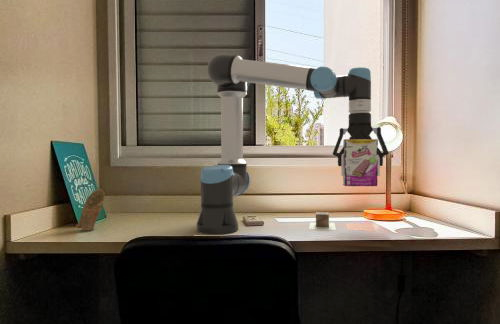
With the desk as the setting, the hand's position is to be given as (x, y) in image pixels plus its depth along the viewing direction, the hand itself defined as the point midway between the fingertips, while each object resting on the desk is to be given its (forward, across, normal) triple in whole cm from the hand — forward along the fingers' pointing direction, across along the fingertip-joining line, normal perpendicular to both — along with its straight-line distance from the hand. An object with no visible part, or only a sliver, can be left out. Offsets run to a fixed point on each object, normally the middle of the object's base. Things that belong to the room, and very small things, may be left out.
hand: (360, 175), depth 128 cm
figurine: (+19, -97, -12) cm, 99 cm away
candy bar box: (+4, 0, 0) cm, 4 cm away
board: (+19, -7, 0) cm, 21 cm away
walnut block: (+18, -13, 0) cm, 22 cm away
